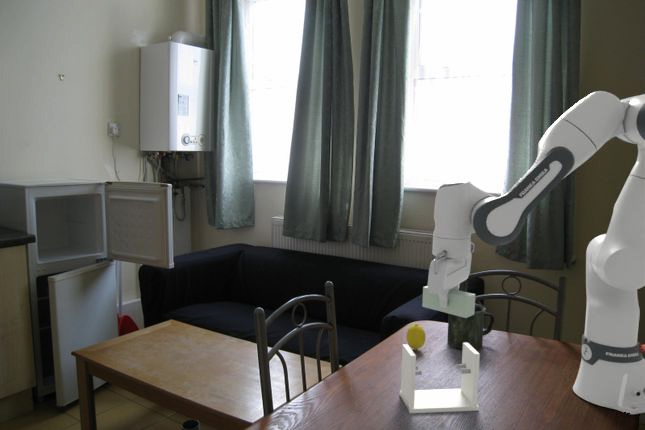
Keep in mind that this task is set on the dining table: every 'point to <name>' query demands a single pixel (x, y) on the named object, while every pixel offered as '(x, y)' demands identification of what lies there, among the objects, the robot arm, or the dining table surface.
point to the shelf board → (451, 302)
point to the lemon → (416, 336)
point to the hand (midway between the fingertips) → (448, 304)
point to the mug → (468, 328)
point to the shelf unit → (441, 397)
